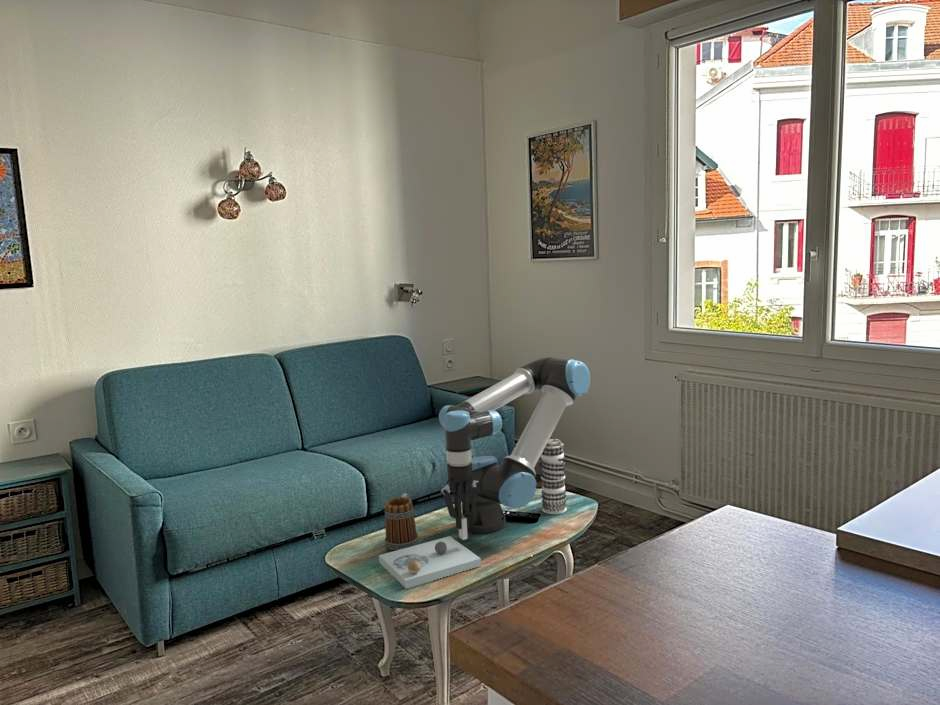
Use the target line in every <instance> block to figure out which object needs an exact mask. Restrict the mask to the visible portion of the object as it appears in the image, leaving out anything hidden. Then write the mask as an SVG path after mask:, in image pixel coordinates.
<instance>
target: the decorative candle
mask: <svg viewBox="0 0 940 705" xmlns="http://www.w3.org/2000/svg"><path fill="white" fill-rule="evenodd" d="M564 445H565V444H564V443H563V442H562V441H561V440H560V439H557V438H549V440H548V442H547V444H546V446H545V448H544V450H543V452H542V454H541V456H540V458H539V460H538V462H539V463H538V464H539V466H540V468H539V469H540V470H539V471H540V474H539V475H540V479H541V480H542V485H541V489H542V490H541V492H540V493H541V503H542V505H541V507H542V509H541V510H542V512H544V513H545V514H548V515H561V514H564V513H565V512H567V509H568V508H567V499H566V498H567V490H566V485H565V479H566V472H565V470H566V462H564V461H565V460H566V457H565V454H564Z"/></svg>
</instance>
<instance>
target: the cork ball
mask: <svg viewBox="0 0 940 705" xmlns="http://www.w3.org/2000/svg"><path fill="white" fill-rule="evenodd" d="M408 570H409V572H410V573H413V574H415V573H418V572H419V570H420V563H419V562H418V561H416V560H413V561H411V562H409V564H408Z"/></svg>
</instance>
